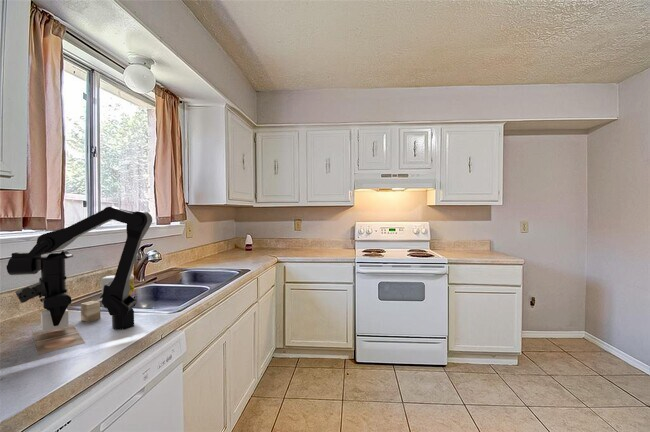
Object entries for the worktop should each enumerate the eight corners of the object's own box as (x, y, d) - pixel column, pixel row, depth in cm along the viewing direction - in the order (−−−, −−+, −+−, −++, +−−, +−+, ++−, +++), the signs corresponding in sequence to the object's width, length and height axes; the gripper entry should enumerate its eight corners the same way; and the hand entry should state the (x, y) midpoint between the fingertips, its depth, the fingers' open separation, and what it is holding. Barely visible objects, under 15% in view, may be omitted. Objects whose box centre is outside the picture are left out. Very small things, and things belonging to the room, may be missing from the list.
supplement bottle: (120, 301, 137) (119, 271, 137) (114, 298, 141) (113, 269, 141) (137, 297, 142) (136, 269, 142) (130, 295, 146) (130, 267, 146)
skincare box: (114, 308, 128) (113, 277, 127) (101, 309, 127) (100, 278, 126) (120, 303, 134) (119, 274, 133) (107, 304, 132) (107, 275, 132)
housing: (68, 326, 100) (68, 310, 99) (42, 332, 95) (42, 315, 95) (65, 322, 104) (65, 306, 104) (41, 327, 99) (40, 311, 99)
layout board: (85, 347, 92) (85, 342, 92) (38, 358, 85) (38, 354, 84) (72, 327, 107) (72, 323, 107) (32, 335, 100) (32, 332, 100)
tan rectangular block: (100, 321, 112) (100, 301, 112) (88, 325, 109) (87, 305, 109) (93, 320, 114) (93, 300, 114) (81, 323, 110) (80, 303, 110)
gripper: (16, 272, 100) (17, 322, 100) (18, 282, 87) (20, 339, 87) (62, 268, 108) (63, 314, 108) (70, 276, 95) (72, 328, 95)
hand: (54, 323), depth 100 cm, fingers closed on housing, 6 cm apart
